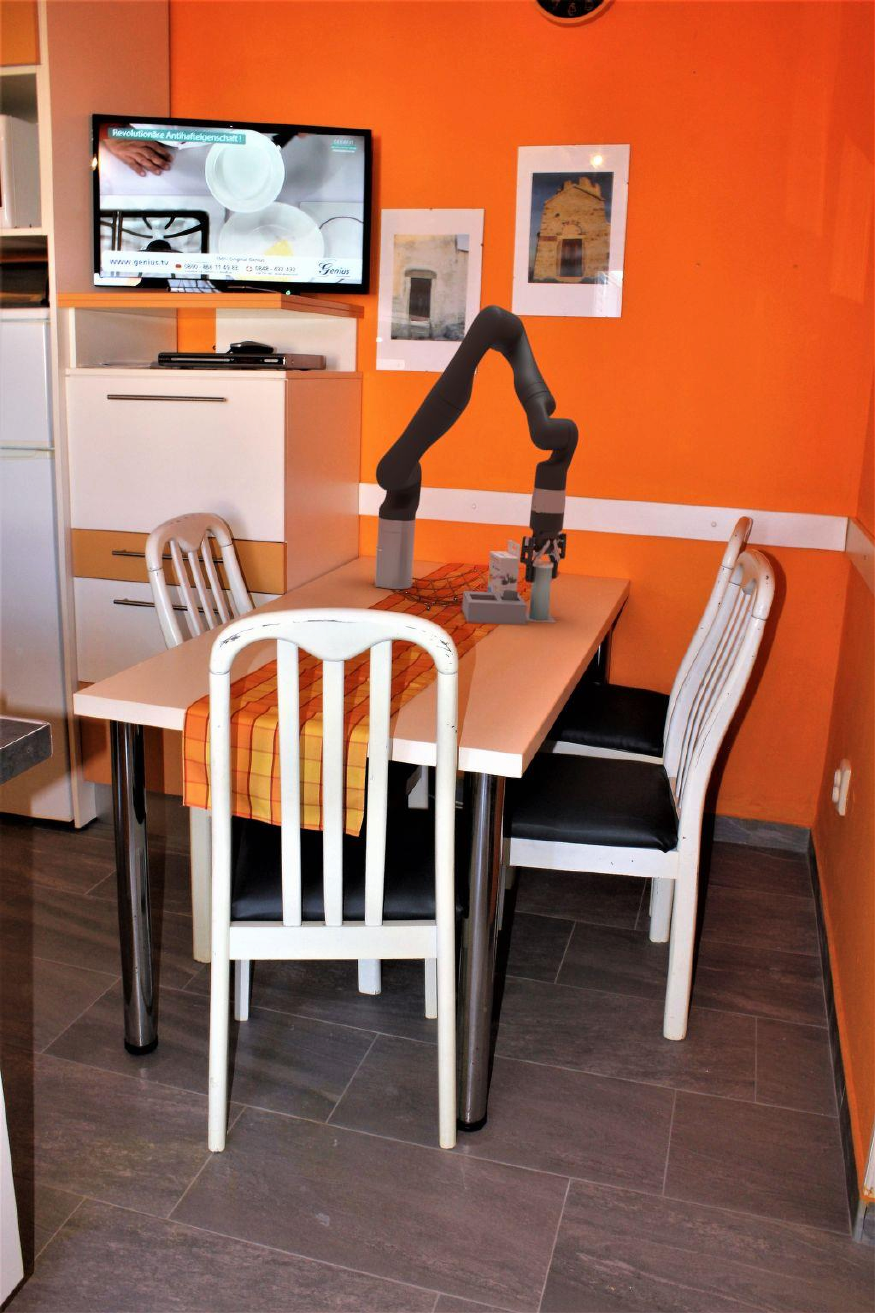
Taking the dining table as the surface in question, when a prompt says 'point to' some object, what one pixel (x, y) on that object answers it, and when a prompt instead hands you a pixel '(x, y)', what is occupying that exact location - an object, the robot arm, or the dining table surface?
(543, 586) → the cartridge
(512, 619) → the housing
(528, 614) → the mat
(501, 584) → the ink box
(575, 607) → the dining table surface
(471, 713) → the dining table surface
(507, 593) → the plunger
